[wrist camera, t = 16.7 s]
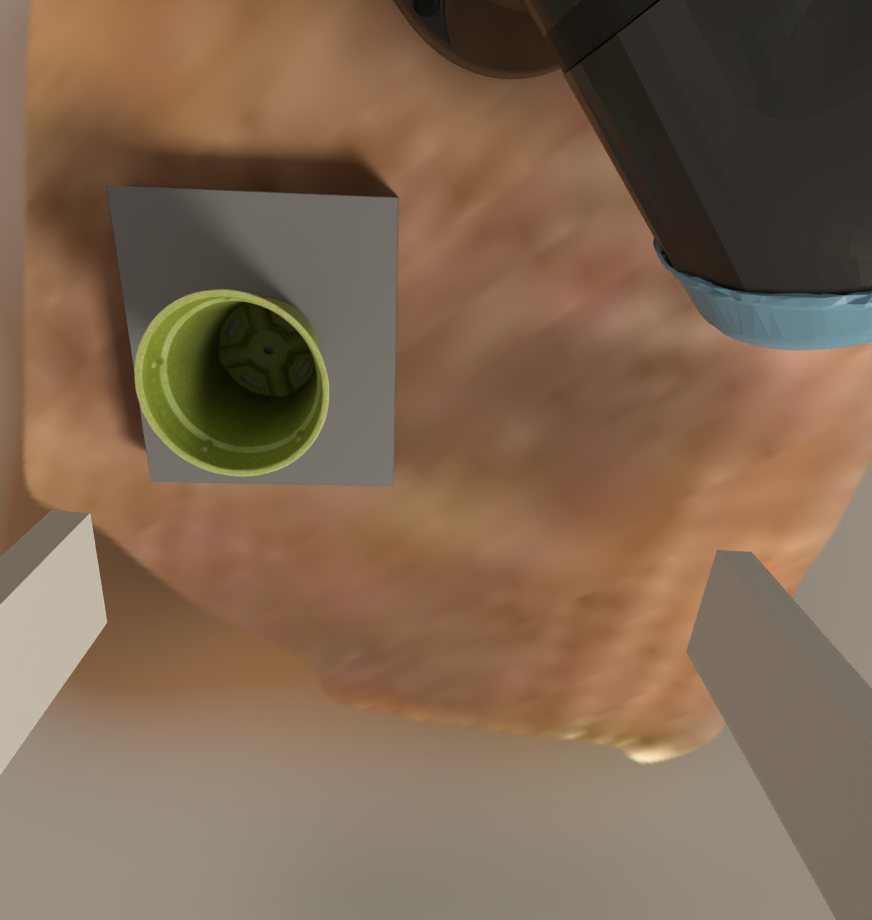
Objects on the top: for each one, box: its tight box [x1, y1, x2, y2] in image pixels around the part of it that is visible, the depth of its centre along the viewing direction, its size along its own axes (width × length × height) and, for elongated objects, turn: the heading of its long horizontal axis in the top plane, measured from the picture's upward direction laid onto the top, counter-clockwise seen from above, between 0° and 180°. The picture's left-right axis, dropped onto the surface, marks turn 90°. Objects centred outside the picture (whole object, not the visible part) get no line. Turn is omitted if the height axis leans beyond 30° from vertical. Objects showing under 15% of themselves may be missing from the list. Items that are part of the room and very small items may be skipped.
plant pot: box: [134, 289, 329, 477], centre depth 35 cm, size 9×9×9 cm
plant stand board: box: [107, 186, 398, 486], centre depth 41 cm, size 18×16×3 cm
